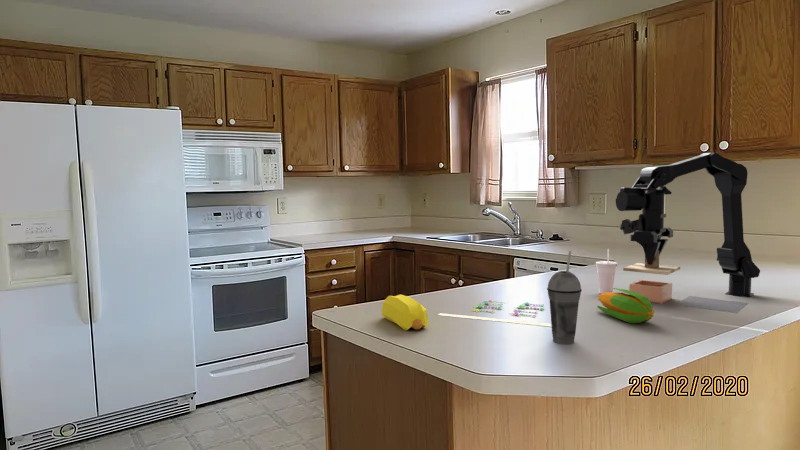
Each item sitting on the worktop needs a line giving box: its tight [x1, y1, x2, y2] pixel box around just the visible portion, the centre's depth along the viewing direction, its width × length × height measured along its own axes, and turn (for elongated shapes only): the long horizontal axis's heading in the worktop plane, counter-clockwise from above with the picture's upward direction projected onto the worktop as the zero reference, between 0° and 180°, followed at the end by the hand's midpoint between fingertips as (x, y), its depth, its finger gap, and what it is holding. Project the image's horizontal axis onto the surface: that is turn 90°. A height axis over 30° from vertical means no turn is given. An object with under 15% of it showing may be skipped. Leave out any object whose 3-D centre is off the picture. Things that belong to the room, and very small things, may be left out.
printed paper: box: [437, 299, 552, 328], centre depth 150 cm, size 30×30×2 cm
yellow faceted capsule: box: [381, 294, 429, 331], centre depth 135 cm, size 18×7×8 cm
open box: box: [628, 279, 673, 305], centre depth 157 cm, size 9×9×5 cm
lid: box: [622, 250, 681, 276], centre depth 156 cm, size 12×12×6 cm
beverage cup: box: [546, 250, 583, 345], centre depth 118 cm, size 7×7×20 cm
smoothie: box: [595, 248, 618, 294], centre depth 168 cm, size 6×6×14 cm
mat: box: [674, 295, 749, 314], centre depth 150 cm, size 15×15×1 cm
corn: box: [596, 287, 655, 324], centre depth 138 cm, size 7×8×20 cm
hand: (651, 263), depth 157 cm, fingers closed on lid, 3 cm apart
